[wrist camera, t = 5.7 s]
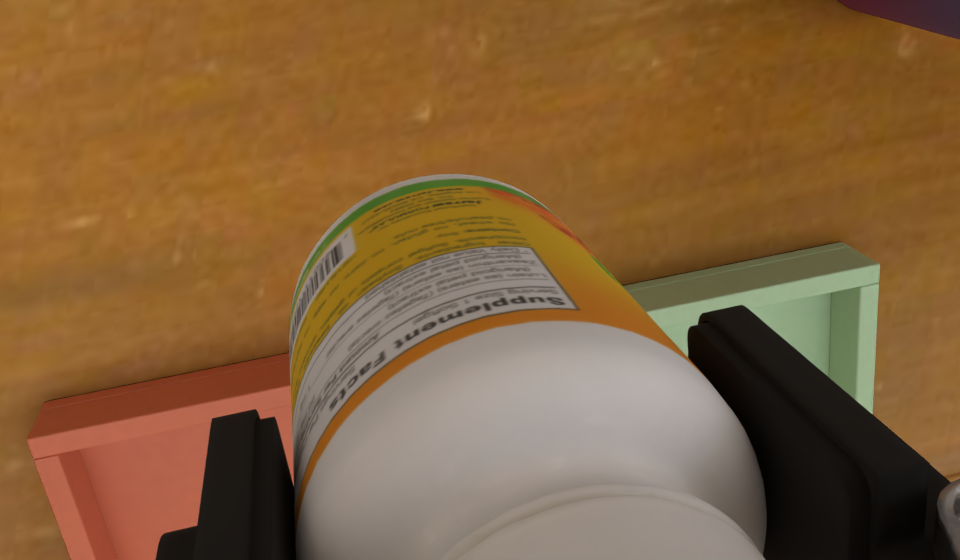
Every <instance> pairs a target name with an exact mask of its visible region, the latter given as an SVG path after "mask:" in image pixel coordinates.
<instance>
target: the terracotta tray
mask: <svg viewBox="0 0 960 560" xmlns="http://www.w3.org/2000/svg"><path fill="white" fill-rule="evenodd" d="M290 388H291V384H290V353H286V354H281V355H276V356H271V357H266V358H261V359H256V360H251V361H246V362H241V363H236V364H231V365H226V366H222V367H217V368H212V369H207V370H202V371H197V372H192V373H187V374H182V375H177V376H172V377H167V378H162V379H157V380H152V381H147V382H142V383H137V384H132V385H127V386H122V387H117V388H112V389H107V390H102V391H97V392H92V393H87V394H82V395H77V396H72V397H67V398H62V399H58V400H53V401H48V402H44V404H43V406H42V408H41V412H40V413H39V415H38V417H37V419H36V421H35V423H34V425H33V427H32V429H31V432H30V434H29V436H28V438H27V443H28V446H29V449H30V451H31V454H32V457H33V458H34V463H35V465H36V468H37V471H38V473H39V476H40V478H41V481H42V484H43V486H44V489H45V492H46V494H47V497H48V500H49V502H50V505H51V508H52V510H53V513H54V516H55V518H56V521H57V524H58V526H59V529H60V532H61V534H62V537H63V540H64V542H65V545H66V548H67V550H68V553H69V556H70V558H71V560H155V559H156V554H157V549H158V544H159V541H160V538H161V536H162V535H163V534H164V533H167V532H171V531H176V530H180V529H185V528H189V527H193V526H197V524H198V516H199V509H200V501H201V494H202V486H203V479H204V471H205V464H206V456H207V449H208V441H209V434H210V427H211V421H212V418H216V417H221V416H225V415H230V414H235V413H239V412H244V411H249V410H253V409H256V410H257V411H258V414H259V416H260V419H264V418H269V417H273V416H274V417H275V418H276V421H277V424H278V427H279V431H280V435H281V439H282V443H283V447H284V451H285V455H286V458H287V462H288V466H289V470H290V474H291V478H292V482H293V486H294V474H293V441H292V412H291V392H290Z"/></svg>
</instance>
